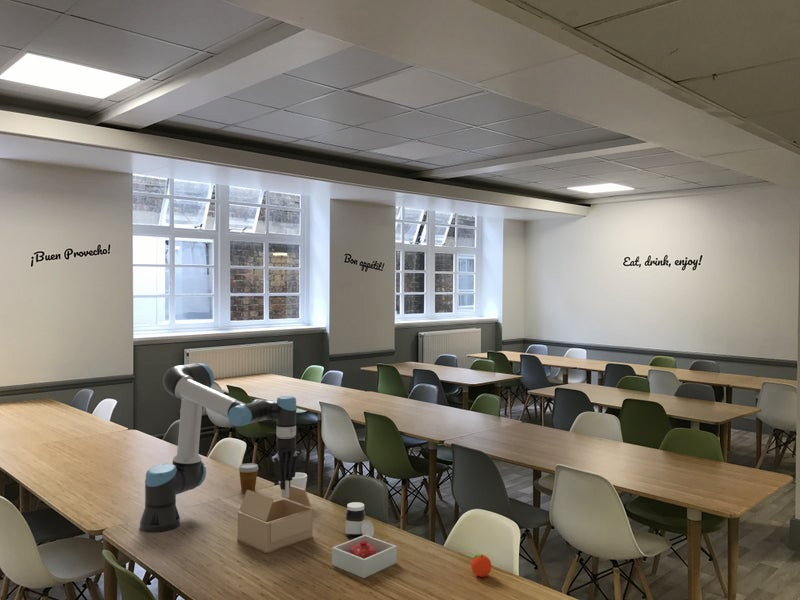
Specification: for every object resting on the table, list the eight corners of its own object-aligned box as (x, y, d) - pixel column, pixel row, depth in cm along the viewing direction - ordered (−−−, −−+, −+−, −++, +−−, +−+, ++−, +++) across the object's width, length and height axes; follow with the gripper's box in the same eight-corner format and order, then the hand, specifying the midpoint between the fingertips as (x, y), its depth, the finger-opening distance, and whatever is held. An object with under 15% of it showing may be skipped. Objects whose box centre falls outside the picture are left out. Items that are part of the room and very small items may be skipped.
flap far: (304, 490, 242) (305, 489, 242) (278, 481, 252) (279, 481, 252) (310, 507, 244) (311, 506, 244) (284, 498, 255) (285, 497, 255)
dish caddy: (363, 578, 208) (364, 560, 208) (331, 564, 219) (332, 547, 219) (396, 562, 221) (396, 546, 221) (364, 550, 231) (365, 534, 231)
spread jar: (347, 529, 253) (347, 500, 253) (374, 530, 252) (375, 501, 252) (343, 540, 241) (343, 510, 241) (372, 541, 240) (373, 511, 240)
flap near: (266, 520, 228) (265, 520, 228) (240, 510, 238) (239, 510, 238) (274, 498, 231) (273, 498, 230) (248, 489, 241) (247, 489, 241)
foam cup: (302, 508, 277) (302, 479, 277) (282, 506, 279) (282, 477, 279) (309, 501, 286) (309, 473, 286) (290, 499, 288) (290, 471, 288)
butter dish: (353, 574, 212) (354, 549, 212) (342, 561, 222) (342, 537, 222) (384, 568, 217) (385, 544, 217) (371, 556, 227) (372, 532, 227)
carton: (267, 554, 227) (268, 523, 227) (236, 540, 239) (237, 511, 239) (313, 537, 243) (313, 509, 243) (282, 525, 256) (282, 498, 256)
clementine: (465, 577, 210) (465, 556, 210) (470, 569, 217) (470, 549, 217) (488, 581, 207) (489, 560, 207) (493, 573, 214) (493, 552, 214)
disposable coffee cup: (238, 494, 295) (238, 468, 295) (237, 488, 304) (238, 463, 304) (258, 492, 298) (259, 467, 298) (257, 487, 307) (258, 462, 307)
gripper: (278, 440, 236) (277, 503, 236) (305, 435, 246) (304, 495, 246) (266, 437, 241) (265, 498, 241) (293, 432, 251) (292, 491, 251)
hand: (285, 497), depth 243 cm, fingers closed
